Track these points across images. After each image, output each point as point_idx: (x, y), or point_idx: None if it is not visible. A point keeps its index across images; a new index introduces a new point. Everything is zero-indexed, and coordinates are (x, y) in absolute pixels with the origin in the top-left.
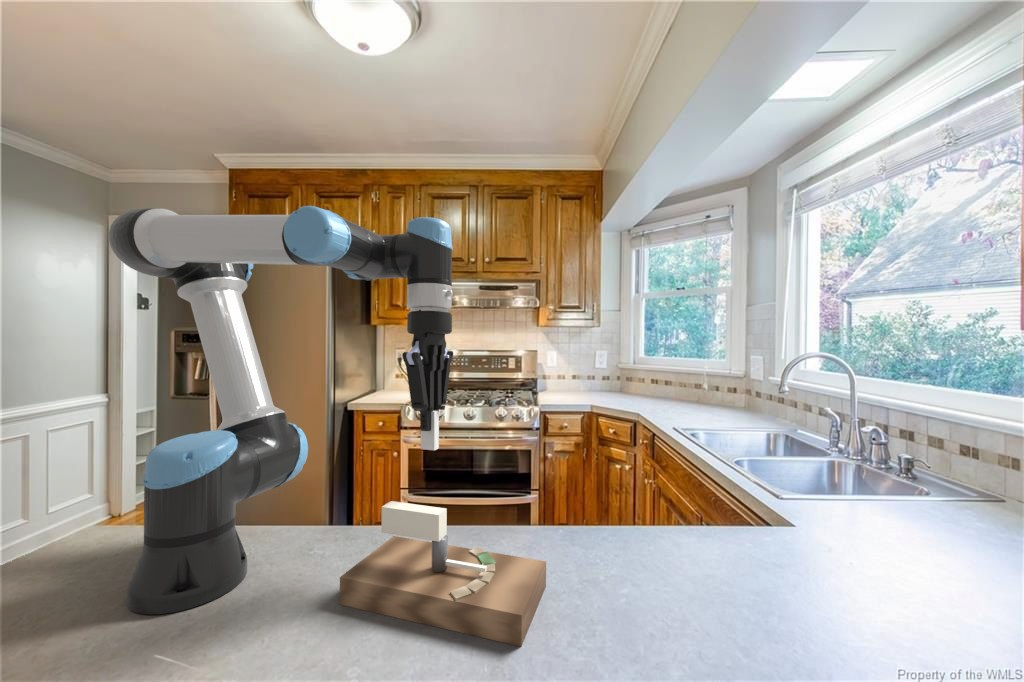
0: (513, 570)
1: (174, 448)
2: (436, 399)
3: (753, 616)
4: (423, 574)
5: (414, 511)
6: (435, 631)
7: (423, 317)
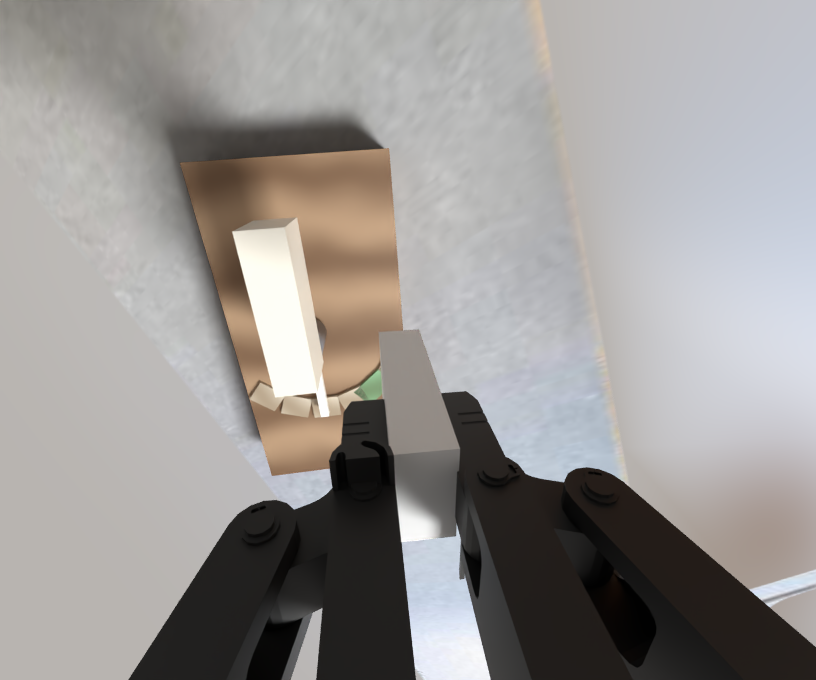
0: None
1: None
2: (477, 606)
3: (437, 592)
4: None
5: (259, 336)
6: None
7: None
